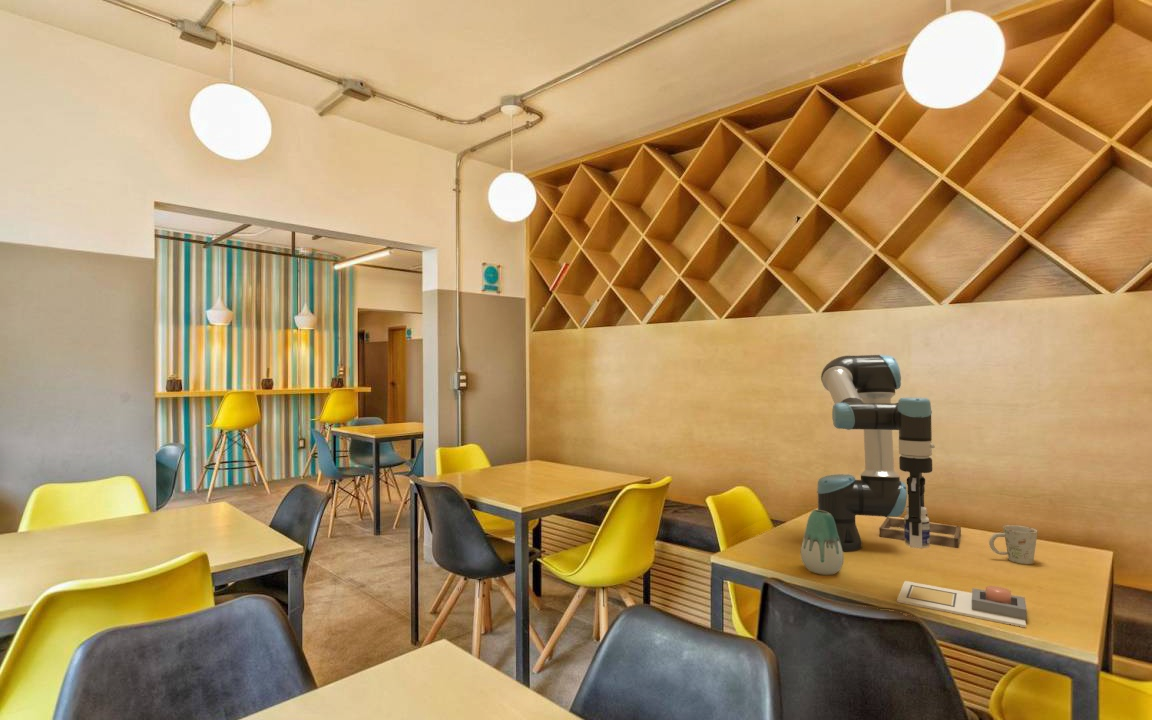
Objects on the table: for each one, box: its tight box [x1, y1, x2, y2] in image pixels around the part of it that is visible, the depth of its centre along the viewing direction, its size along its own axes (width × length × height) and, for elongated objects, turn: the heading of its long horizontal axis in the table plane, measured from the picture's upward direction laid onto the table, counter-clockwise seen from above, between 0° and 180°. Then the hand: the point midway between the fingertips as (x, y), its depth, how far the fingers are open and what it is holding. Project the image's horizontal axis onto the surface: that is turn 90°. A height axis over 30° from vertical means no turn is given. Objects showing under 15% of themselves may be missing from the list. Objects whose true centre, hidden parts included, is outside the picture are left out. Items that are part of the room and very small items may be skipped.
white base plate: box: [896, 580, 1028, 629], centre depth 146 cm, size 26×16×3 cm, turn 54°
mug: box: [988, 524, 1038, 565], centre depth 178 cm, size 8×13×10 cm, turn 78°
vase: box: [800, 509, 844, 576], centre depth 170 cm, size 12×12×18 cm
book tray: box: [878, 517, 962, 549], centre depth 205 cm, size 23×18×3 cm
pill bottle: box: [903, 505, 931, 549], centre depth 151 cm, size 6×6×10 cm
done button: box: [985, 585, 1012, 605], centre depth 141 cm, size 5×5×3 cm
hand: (917, 544), depth 151 cm, fingers closed on pill bottle, 6 cm apart
